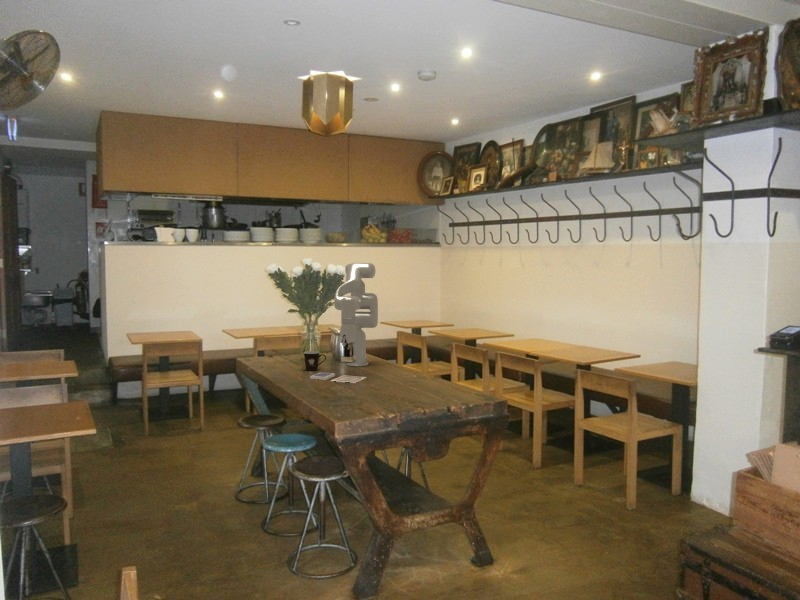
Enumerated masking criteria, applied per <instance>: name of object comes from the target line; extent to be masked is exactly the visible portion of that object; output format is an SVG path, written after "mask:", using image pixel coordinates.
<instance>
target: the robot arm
mask: <svg viewBox="0 0 800 600" xmlns="http://www.w3.org/2000/svg"><path fill="white" fill-rule="evenodd" d="M344 272H345V281H344V282H343V283H342V284H341V285H340V286H339V287H338V288H337V289H336V291H335V295H334V301H333V306H334V308H335V310H338V311H341V315H340V316H341V320H340V321H341V322H340V324H341V326H340V333H339V334H340V337H339V342H340V343H341V345H342V346H343V356H344V357H350V349H349V343H351V342H353V345H352V356H353V355H354V356H356V360H355V362H352V363H346V365H347V366H349V367H366V366H368V365H369V362H368V361H367V360H368V356H367V351H366V349H367V344H366V343H367V341H366V339H367V337H366V336H367V335H366V333H365V332H364V330H363V329H364V328H365V329H366V328H367V329H375V328H376V327H377V326H378V323H379V321H378V320H379V316H378V315H379V308H378V307H379V305H378V304H379V303H378V302H379V301H378V296H377V293H376V294H375V293H373V292H370V293H369V292H366V284H365V281H363V279H373V278H374V277H375V276H376V267H375V264H374V263H372V262H370V263H369V262H353V263H352V262H351V263H348V264H346V265H345V270H344ZM349 294H350V295H349ZM358 310H369V311H358ZM346 342H347V343H346ZM346 344H348V346H347V345H346Z"/></svg>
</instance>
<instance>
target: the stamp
mask: <svg viewBox="0 0 800 600" xmlns="http://www.w3.org/2000/svg"><path fill="white" fill-rule="evenodd" d="M346 343H347V342H346ZM346 345H347V346H348V344H346ZM352 345H353V342H351V343H349V349H350V357H344V355H343V356H341V363H344V364H347V363H352V362H355V360H356V356H354V355H353V356H352Z"/></svg>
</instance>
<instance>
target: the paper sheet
mask: <svg viewBox="0 0 800 600" xmlns="http://www.w3.org/2000/svg"><path fill="white" fill-rule="evenodd" d="M367 378H368V377H367V376H355V375H344V374H343V375H340V376H339V377H335V378H332V379H331V380H330V382H334V381H336V382H337V383H345V382H350V383H349V384H356V382H357V383H358V381H359V382H360V381H363V380H365V379H367Z"/></svg>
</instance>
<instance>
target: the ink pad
mask: <svg viewBox="0 0 800 600" xmlns="http://www.w3.org/2000/svg"><path fill="white" fill-rule="evenodd" d="M334 377H336V373H334V372H317V373H316V374H315V373H314V374H313V375H310V377H309V378H310V380H318V379H319V380H322V381H326V380H329V379H333V378H334Z"/></svg>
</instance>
